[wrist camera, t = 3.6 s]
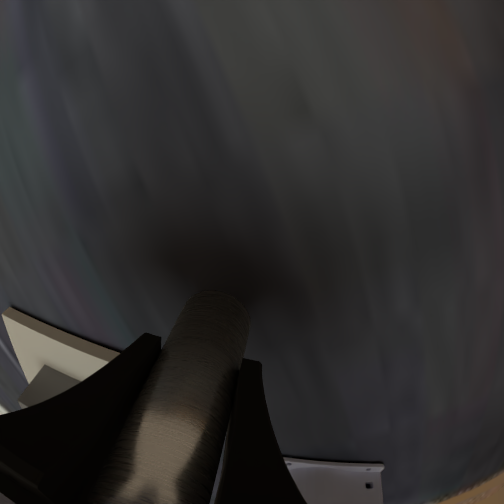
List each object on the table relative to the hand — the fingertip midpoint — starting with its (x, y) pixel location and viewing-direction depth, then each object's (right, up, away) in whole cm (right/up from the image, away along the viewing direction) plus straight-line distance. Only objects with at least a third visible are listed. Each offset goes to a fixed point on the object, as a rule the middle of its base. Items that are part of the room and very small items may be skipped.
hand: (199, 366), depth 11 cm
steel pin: (0, +1, +3) cm, 3 cm away
